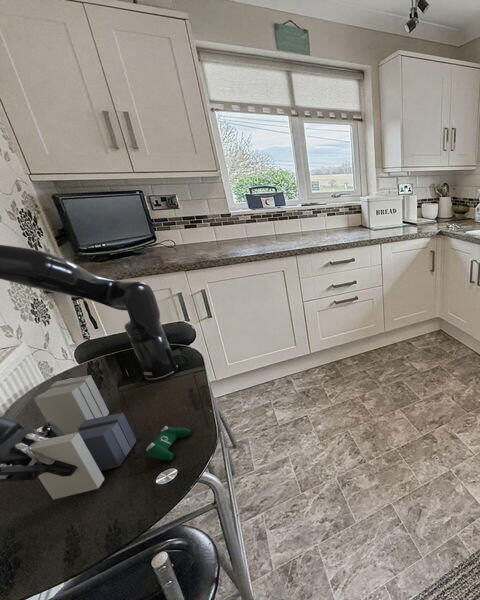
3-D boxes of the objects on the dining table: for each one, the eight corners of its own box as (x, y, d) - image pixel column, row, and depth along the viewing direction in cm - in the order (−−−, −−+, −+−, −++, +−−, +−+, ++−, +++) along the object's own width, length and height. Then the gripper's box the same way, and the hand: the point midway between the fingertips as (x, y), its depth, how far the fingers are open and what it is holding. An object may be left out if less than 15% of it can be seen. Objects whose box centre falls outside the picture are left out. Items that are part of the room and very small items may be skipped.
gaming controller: (185, 439, 85) (163, 428, 83) (193, 429, 84) (170, 418, 82) (165, 468, 76) (139, 457, 74) (172, 458, 75) (147, 446, 73)
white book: (61, 489, 69) (30, 442, 64) (104, 479, 70) (78, 432, 66) (52, 499, 67) (21, 451, 62) (98, 488, 68) (70, 440, 63)
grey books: (100, 449, 81) (84, 418, 78) (136, 440, 83) (122, 411, 79) (79, 476, 74) (60, 444, 70) (119, 466, 75) (103, 434, 72)
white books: (77, 419, 93) (56, 381, 88) (109, 412, 95) (90, 374, 90) (57, 439, 86) (33, 399, 81) (93, 432, 87) (71, 392, 83)
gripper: (-58, 447, 53) (65, 481, 60) (13, 396, 66) (107, 428, 73) (-79, 480, 54) (44, 509, 61) (-6, 423, 66) (90, 452, 73)
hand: (78, 465), depth 67 cm, fingers closed on white book, 2 cm apart
